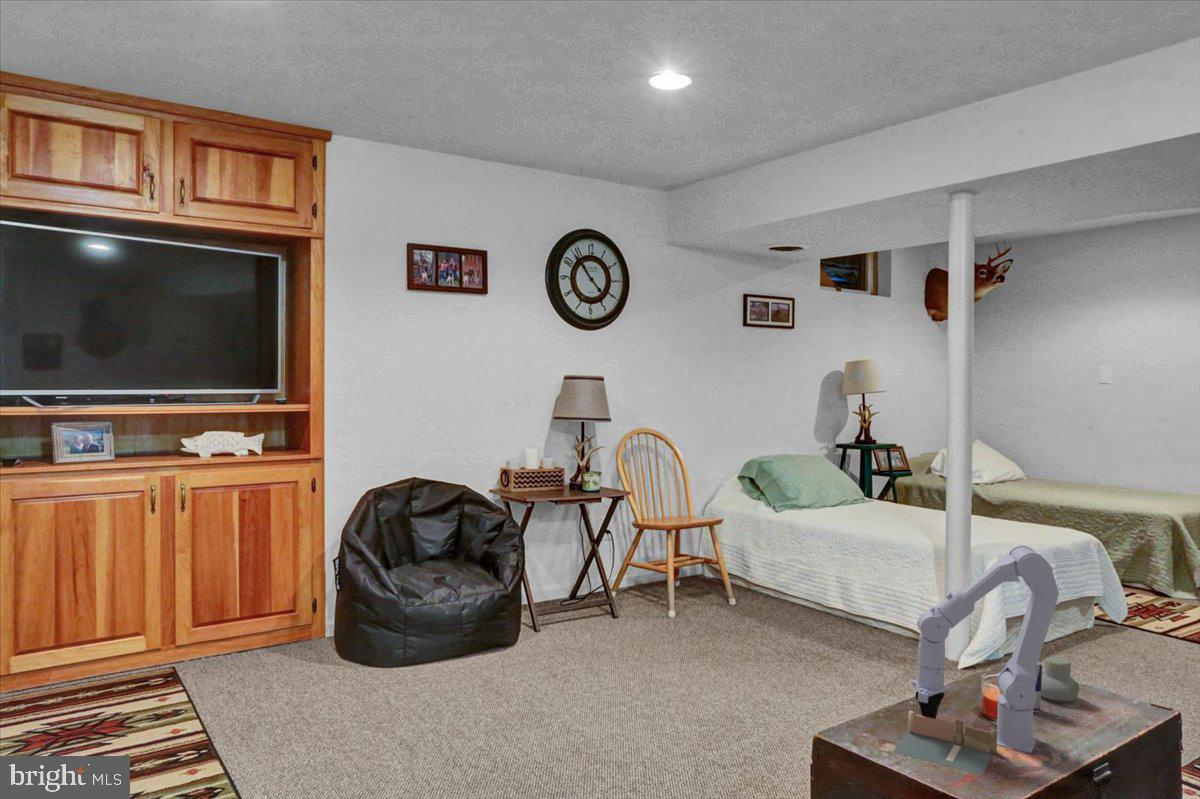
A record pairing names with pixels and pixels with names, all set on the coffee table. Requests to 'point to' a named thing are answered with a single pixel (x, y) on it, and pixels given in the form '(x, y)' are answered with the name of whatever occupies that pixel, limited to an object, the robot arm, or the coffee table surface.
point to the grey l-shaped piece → (1058, 680)
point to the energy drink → (1038, 687)
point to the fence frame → (976, 738)
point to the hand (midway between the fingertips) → (928, 724)
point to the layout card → (943, 752)
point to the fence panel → (930, 727)
